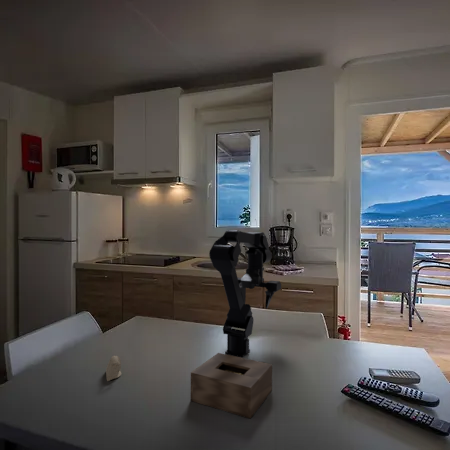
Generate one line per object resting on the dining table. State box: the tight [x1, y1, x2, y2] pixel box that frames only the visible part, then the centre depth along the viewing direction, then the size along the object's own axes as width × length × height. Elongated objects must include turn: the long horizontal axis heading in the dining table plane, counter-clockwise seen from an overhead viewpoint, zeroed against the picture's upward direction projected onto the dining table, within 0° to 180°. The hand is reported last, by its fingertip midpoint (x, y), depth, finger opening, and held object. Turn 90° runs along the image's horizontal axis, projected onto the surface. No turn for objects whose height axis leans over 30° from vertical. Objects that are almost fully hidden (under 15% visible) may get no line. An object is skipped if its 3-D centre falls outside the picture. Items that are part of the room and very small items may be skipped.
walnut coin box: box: [190, 352, 273, 419], centre depth 85 cm, size 16×14×7 cm
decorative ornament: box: [105, 355, 122, 382], centre depth 95 cm, size 4×8×5 cm, turn 20°
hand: (255, 306), depth 126 cm, fingers open, 9 cm apart
